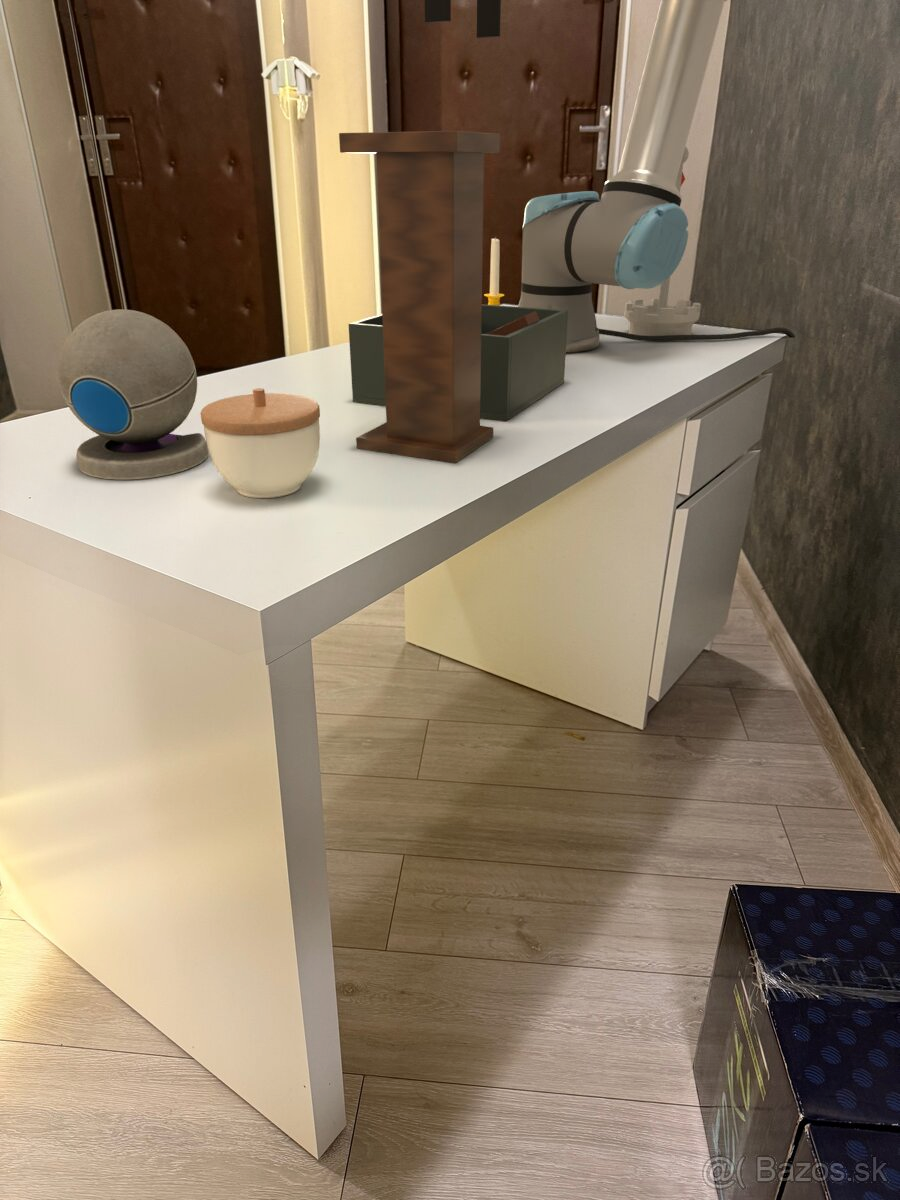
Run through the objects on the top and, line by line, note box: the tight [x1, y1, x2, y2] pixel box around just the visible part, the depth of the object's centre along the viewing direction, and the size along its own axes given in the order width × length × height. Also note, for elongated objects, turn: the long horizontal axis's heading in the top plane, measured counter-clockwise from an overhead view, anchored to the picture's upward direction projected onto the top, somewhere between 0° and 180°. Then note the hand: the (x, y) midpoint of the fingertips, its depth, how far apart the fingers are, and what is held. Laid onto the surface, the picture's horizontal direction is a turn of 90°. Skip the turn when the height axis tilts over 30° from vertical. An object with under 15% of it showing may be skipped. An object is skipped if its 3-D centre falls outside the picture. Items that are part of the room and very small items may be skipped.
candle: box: [483, 235, 505, 306], centre depth 155 cm, size 5×5×16 cm
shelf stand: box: [338, 130, 501, 464], centre depth 85 cm, size 12×10×30 cm
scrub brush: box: [488, 311, 539, 336], centre depth 108 cm, size 17×4×3 cm, turn 61°
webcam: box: [57, 308, 209, 480], centre depth 83 cm, size 13×13×15 cm
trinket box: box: [200, 387, 321, 499], centre depth 77 cm, size 11×11×9 cm
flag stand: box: [623, 145, 702, 336], centre depth 142 cm, size 13×13×30 cm
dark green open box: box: [348, 304, 568, 422], centre depth 110 cm, size 22×22×10 cm
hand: (464, 30), depth 93 cm, fingers open, 13 cm apart
